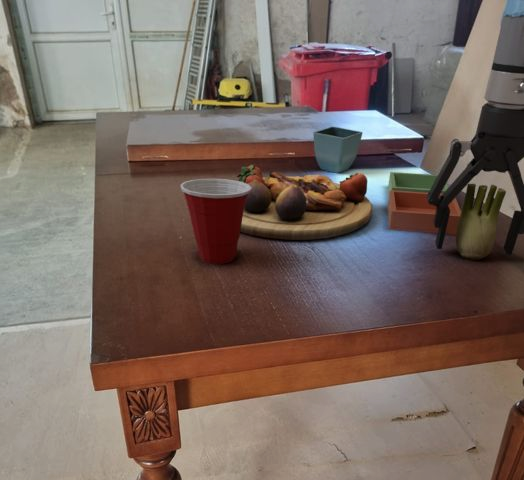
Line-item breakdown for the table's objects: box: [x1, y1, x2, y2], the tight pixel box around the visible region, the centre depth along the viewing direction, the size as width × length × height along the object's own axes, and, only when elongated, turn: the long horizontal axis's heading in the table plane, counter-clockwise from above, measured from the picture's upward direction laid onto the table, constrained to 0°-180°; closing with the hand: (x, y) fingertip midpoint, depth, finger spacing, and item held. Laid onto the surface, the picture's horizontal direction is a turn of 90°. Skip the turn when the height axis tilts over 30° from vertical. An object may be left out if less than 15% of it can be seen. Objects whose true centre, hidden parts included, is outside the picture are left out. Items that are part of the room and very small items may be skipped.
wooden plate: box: [236, 163, 374, 241], centre depth 102 cm, size 32×32×8 cm
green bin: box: [387, 171, 449, 195], centre depth 112 cm, size 12×12×4 cm
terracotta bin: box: [386, 190, 462, 236], centre depth 101 cm, size 13×13×4 cm
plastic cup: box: [179, 178, 252, 265], centre depth 83 cm, size 11×11×12 cm
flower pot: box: [312, 126, 363, 174], centre depth 127 cm, size 9×9×9 cm
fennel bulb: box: [455, 183, 507, 261], centre depth 85 cm, size 6×5×12 cm
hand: (472, 248), depth 87 cm, fingers open, 10 cm apart
